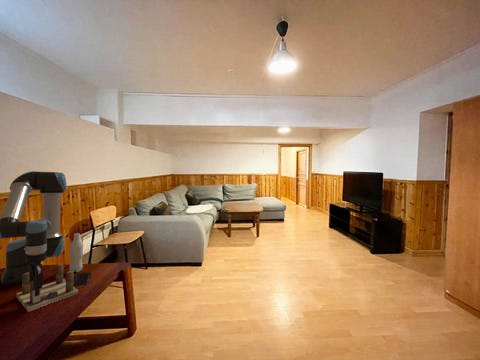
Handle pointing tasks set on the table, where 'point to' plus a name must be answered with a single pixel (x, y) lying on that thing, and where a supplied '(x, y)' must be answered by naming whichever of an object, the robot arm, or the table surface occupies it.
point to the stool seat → (48, 289)
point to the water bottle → (76, 253)
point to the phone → (82, 278)
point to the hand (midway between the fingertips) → (35, 299)
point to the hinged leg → (50, 295)
